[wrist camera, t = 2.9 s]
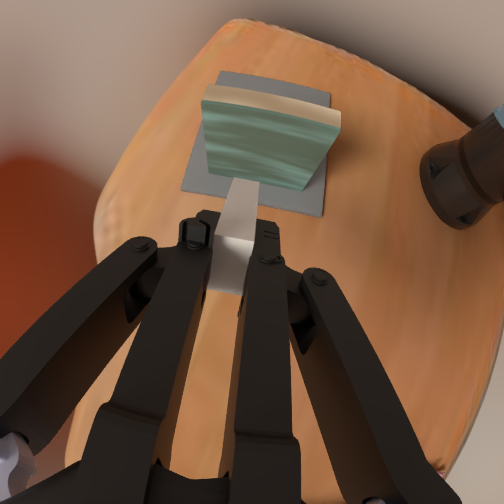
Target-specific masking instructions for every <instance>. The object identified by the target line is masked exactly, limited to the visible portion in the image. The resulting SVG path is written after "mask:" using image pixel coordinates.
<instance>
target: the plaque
mask: <svg viewBox="0 0 504 504" xmlns="http://www.w3.org/2000/svg"><path fill="white" fill-rule="evenodd" d="M201 109H202V119H203V128H204V137H205V146H206V155H207V163H208V171H209V174H214V175H220V176H225V177H231V178H234V177H235V178H241V179H246V180H251V181H257V182H260V183H263V184H267V185H272V186H277V187H282V188H286V189H291V190H295V191H300V192H302V190H303V189H304V187H305V186H306V184H307V183H308V181H309V180H310V178H311V176H312V175H313V173H314V172H315V170H316V169H317V167H318V166H319V164H320V163H321V161H322V160H323V158H324V156H325V155H326V153H327V152H328V150H329V149H330V147H331V146H332V144H333V143H334V141H335V139H336V138H337V136H338V135H339V133H340V131H341V112H340V111H337V110H334V109H330V108H327V107H323V106H320V105H316V104H312V103H308V102H304V101H300V100H296V99H292V98H288V97H283V96H278V95H274V94H269V93H264V92H258V91H253V90H247V89H240V88H234V87H227V86H219V85H211V84H208V86H207V89H206V91H205V94H204V96H203V99H202V101H201Z"/></svg>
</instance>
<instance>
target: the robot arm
mask: <svg viewBox="0 0 504 504" xmlns="http://www.w3.org/2000/svg"><path fill="white" fill-rule="evenodd" d="M420 178H421V183H422V187H423V190H424V193H425V195H426V197H427V200H428V202H429V203H430V205H431V207H432V208H433V210H434V211H435V213H436V214H437V215H438V216H439V218H440V219H441V220H442V221H444V222H445V223H446V224H447V225H449V226H450V227H452V228H455V229H459V230H462V229H466V228H469V227H471V226H474V225H475V224H477V223H478V222H479V221H480V220H481V219H482V218H483V217H484V216H485V215H486V213H487V212H488V211H489V210H490V209H491V208H492V207H493V206H494V205H496V204H498V203H500V202H502V201H503V202H504V104H503V105H502V106H500V107H497V108H496V109H494V112H493V113H492V114H491V115H490V116H488V117H487V118H486V119H485V120H483V121H482V122H481V123H480V124H478V125H477V126H476V127H475V128H473V129H472V130H471V131H469V132H468V133H467V134H466V135H464V136H463V137H462V138H461V139H459V140H454V141H450V142H446V143H442V144H438V145H436V146H434V147H432V148H431V149H430V150H428V151H427V152H426V153H425V154H424V155H423V157H422V159H421V163H420ZM259 183H260V182H257V181H251V180H246V179H241V178H235V177H234V178H233V181H232V184H231V186H230V189H229V192H228V195H227V198H226V201H225V204H224V207H223V209H222V212H221V213H220V212H215V211H209V210H202V211H201V212H199V213H197V215H196V217H195V218H187V219H184V220H182V221H181V222H180V223H179V239H178V243H177V245H176V246H174V247H166V248H157V243H156V241H155V240H153V239H151V238H149V237H144V236H142V237H141V236H139V237H134V238H131V239H129V240H127V241H126V242H125V243H124V244H122V245H121V246H120V247H119V248H117V249H116V250H115V251H114V252H113V253H111V254H110V255H109V256H108V257H106V258H105V259H104V260H103V261H102V262H100V263H99V264H98V265H97V266H96V267H95V268H93V269H92V270H91V271H90V272H89V273H88V274H87V275H85V276H84V277H83V278H82V279H81V280H80V281H79V282H77V283H76V284H75V285H74V286H73V287H72V288H71V289H70V290H69V291H68V292H67V293H65V294H64V295H63V296H62V297H61V298H60V299H59V300H58V301H57V302H56V303H55V304H53V305H52V306H51V307H50V308H49V309H48V310H47V311H46V312H45V313H44V314H43V315H42V316H41V317H40V318H39V319H38V320H37V321H36V322H35V323H34V324H33V325H32V326H31V327H30V328H29V329H28V330H27V331H26V332H25V333H24V334H23V335H22V336H21V337H20V338H19V339H18V340H17V342H16V343H15V344H14V345H13V346H12V347H11V348H10V349H9V350H8V351H7V352H6V353H5V355H4V356H3V357H2V358H1V359H0V504H306V503H305V502H304V501H303V500H302V499H301V452H300V445H299V442H298V440H297V439H296V438H295V437H294V436H293V433H292V399H291V366H290V342H291V345H292V348H293V351H294V354H295V357H296V360H297V362H298V365H299V368H300V371H301V374H302V377H303V380H304V383H305V386H306V389H307V392H308V395H309V398H310V401H311V404H312V407H313V410H314V413H315V416H316V419H317V422H318V425H319V428H320V431H321V434H322V437H323V440H324V443H325V446H326V449H327V452H328V456H329V459H330V462H331V465H332V468H333V471H334V474H335V477H336V480H337V483H338V486H339V488H340V491H341V493H342V496H343V498H344V499H345V501H346V503H347V504H462V501H461V500H460V498H459V496H458V495H457V494H456V493H455V492H454V490H453V489H452V488H451V487H450V486H449V485H448V484H447V483H446V482H445V480H444V479H443V478H442V477H441V476H440V475H439V474H438V473H437V471H436V470H435V469H434V468H433V467H432V466H431V465H430V464H429V462H428V461H427V460H426V457H425V455H424V453H423V450H422V448H421V446H420V443H419V441H418V439H417V437H416V434H415V432H414V430H413V428H412V426H411V423H410V421H409V419H408V417H407V415H406V413H405V410H404V408H403V406H402V404H401V402H400V400H399V398H398V396H397V394H396V392H395V390H394V388H393V386H392V384H391V382H390V380H389V378H388V376H387V374H386V372H385V370H384V368H383V366H382V364H381V362H380V360H379V358H378V356H377V354H376V352H375V350H374V349H373V347H372V345H371V343H370V341H369V339H368V337H367V335H366V334H365V332H364V330H363V328H362V326H361V324H360V323H359V321H358V319H357V317H356V315H355V314H354V312H353V310H352V308H351V307H350V305H349V303H348V301H347V300H346V298H345V296H344V294H343V293H342V291H341V289H340V287H339V286H338V284H337V282H336V281H335V279H334V278H333V276H332V275H331V274H330V273H328V272H327V271H325V270H322V269H320V268H308V269H306V270H304V272H303V274H302V273H299V272H297V271H294V270H292V269H290V268H289V267H287V266H286V265H285V260H284V257H283V256H282V255H281V251H280V235H279V227H278V226H277V225H276V223H275V222H271V221H266V220H261V219H256V217H257V205H258V194H259ZM207 289H209V290H214V291H219V292H225V293H230V294H236V295H241V296H242V298H241V303H240V307H239V311H238V316H237V317H238V325H237V333H236V341H235V350H234V358H233V366H232V374H231V382H230V390H229V399H228V407H227V415H226V424H225V432H224V440H223V449H222V456H221V461H220V466H219V473H218V478H212V479H188V478H186V477H183V476H181V475H179V474H177V473H174V472H172V471H170V470H169V467H170V461H171V450H172V443H173V438H174V433H175V428H176V423H177V418H178V413H179V409H180V404H181V399H182V395H183V390H184V386H185V381H186V377H187V373H188V368H189V364H190V360H191V355H192V351H193V347H194V343H195V338H196V334H197V330H198V326H199V322H200V318H201V314H202V310H203V306H204V302H205V298H206V290H207ZM140 322H141V323H140ZM139 323H140V326H139V328H138V331H137V333H136V335H135V338H134V340H133V343H132V345H131V347H130V350H129V352H128V355H127V357H126V360H125V363H124V365H123V368H122V370H121V373H120V376H119V378H118V381H117V384H116V386H115V389H114V392H113V395H112V397H111V399H110V400H109V402H106V403H103V404H102V405H101V406H100V408H99V409H98V411H97V413H96V416H95V418H94V421H93V424H92V427H91V430H90V433H89V436H88V439H87V442H86V446H85V449H84V452H83V455H82V459H81V460H80V461H77V462H75V463H73V464H72V465H70V466H68V467H67V468H65V469H63V470H61V471H60V472H58V473H56V474H54V475H52V476H51V477H49V478H47V479H46V480H43V481H41V482H39V483H38V484H36V485H34V486H32V487H30V488H28V489H26V484H27V481H28V480H29V479H30V477H31V476H33V475H35V474H36V473H37V464H36V462H35V460H34V456H35V455H36V454H38V453H39V452H40V451H41V450H42V449H43V448H44V447H46V446H47V445H48V444H49V443H50V441H51V440H52V439H53V437H54V436H55V435H56V434H57V432H58V431H59V429H60V428H61V427H62V425H63V424H64V422H65V421H66V419H67V418H68V417H69V415H70V414H71V413H72V411H73V410H74V408H75V407H76V406H77V404H78V403H79V401H80V400H81V399H82V397H83V396H84V395H85V393H86V392H87V391H88V389H89V388H90V387H91V385H92V384H93V383H94V381H95V380H96V379H97V377H98V376H99V375H100V373H101V372H102V371H103V369H104V368H105V367H106V365H107V364H108V363H109V361H110V360H111V359H112V358H113V356H114V355H115V354H116V352H117V351H118V350H119V349H120V347H121V346H122V345H123V343H124V342H125V341H126V340H127V338H128V337H129V336H130V335H131V333H132V332H133V331H134V330H135V328H136V327H137V326H138V325H139ZM289 339H290V341H289Z"/></svg>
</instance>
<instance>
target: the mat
mask: <svg viewBox="0 0 504 504" xmlns="http://www.w3.org/2000/svg"><path fill="white" fill-rule="evenodd" d="M215 85H219V86H227V87H234V88H240V89H247V90H253V91H258V92H264V93H269V94H274V95H278V96H283V97H288V98H292V99H296V100H300V101H304V102H308V103H312V104H316V105H320V106H323V107H327V108H329V105H330V93H328V92H324V91H321V90H317V89H313V88H309V87H306V86H302V85H297V84H293V83H289V82H284V81H280V80H275V79H270V78H265V77H259V76H253V75H247V74H241V73H234V72H226V71H220V73H219V76H218V78H217V81H216V84H215ZM326 162H327V153H326V155H325V156H324V158H323V160H322V161H321V163H320V164H319V166H318V167H317V169H316V170H315V172H314V173H313V175H312V176H311V178H310V180H309V181H308V183H307V184H306V186H305V187H304V189H303V190H302V192H300V191H295V190H291V189H286V188H282V187H277V186H272V185H267V184H263V183H259V194H258V205H262V206H267V207H272V208H277V209H281V210H286V211H291V212H296V213H300V214H305V215H309V216H314V217H318V218H321V217H322V208H323V198H324V187H325V175H326ZM232 181H233V178H231V177H225V176H220V175H214V174H209V171H208V163H207V155H206V146H205V137H204V128H203V119H202V122H201V125H200V128H199V131H198V134H197V137H196V140H195V143H194V146H193V150H192V153H191V156H190V159H189V163H188V166H187V169H186V173H185V176H184V179H183V183H182V186H181V191H185V192H191V193H197V194H203V195H208V196H214V197H220V198H225V199H226V198H227V195H228V192H229V189H230V186H231V184H232Z"/></svg>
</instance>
